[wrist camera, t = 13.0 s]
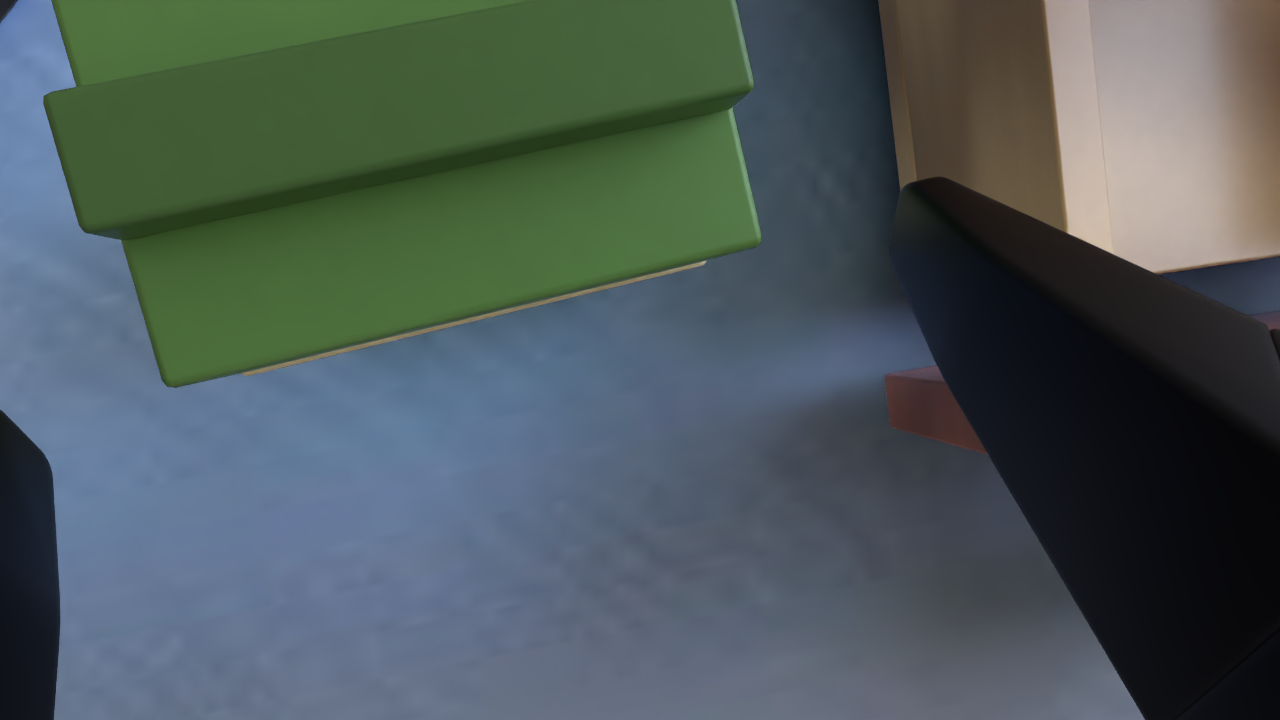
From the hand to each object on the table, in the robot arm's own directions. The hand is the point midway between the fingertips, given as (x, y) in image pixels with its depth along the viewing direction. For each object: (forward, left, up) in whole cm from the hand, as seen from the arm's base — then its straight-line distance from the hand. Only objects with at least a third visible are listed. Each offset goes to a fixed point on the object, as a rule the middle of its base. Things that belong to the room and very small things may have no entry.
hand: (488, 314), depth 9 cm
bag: (+1, +1, -10) cm, 10 cm away
